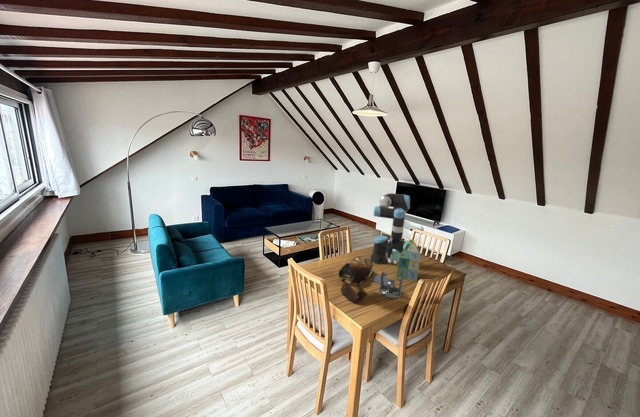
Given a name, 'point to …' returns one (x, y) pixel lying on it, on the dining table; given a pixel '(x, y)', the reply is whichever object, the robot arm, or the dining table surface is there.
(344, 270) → the mask
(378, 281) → the coaster
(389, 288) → the grey metal piece
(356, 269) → the bust
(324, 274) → the dining table surface
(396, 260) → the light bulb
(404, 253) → the printed tall block
